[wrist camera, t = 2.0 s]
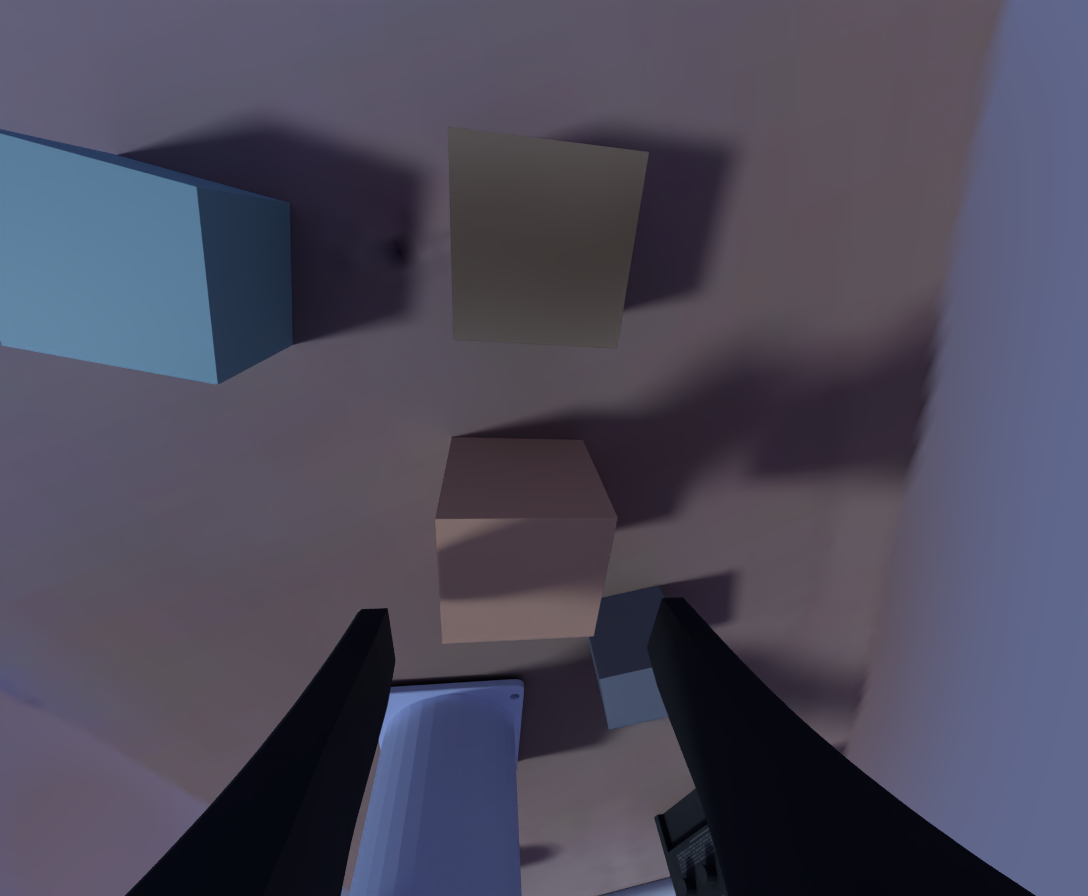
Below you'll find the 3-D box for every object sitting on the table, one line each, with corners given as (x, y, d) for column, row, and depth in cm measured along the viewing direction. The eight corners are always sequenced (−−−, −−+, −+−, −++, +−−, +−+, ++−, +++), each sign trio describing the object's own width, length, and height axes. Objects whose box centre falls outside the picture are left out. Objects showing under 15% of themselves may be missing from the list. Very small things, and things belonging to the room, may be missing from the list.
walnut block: (584, 319, 13) (616, 348, 10) (463, 311, 13) (453, 339, 9) (601, 177, 12) (649, 152, 8) (462, 161, 11) (447, 126, 8)
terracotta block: (568, 538, 18) (593, 636, 13) (455, 539, 17) (442, 643, 13) (582, 438, 16) (617, 517, 11) (452, 435, 15) (435, 519, 10)
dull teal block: (293, 344, 13) (217, 384, 9) (147, 313, 12) (2, 345, 8) (291, 203, 11) (196, 186, 8) (120, 155, 10) (-78, 112, 7)
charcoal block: (661, 634, 22) (693, 710, 18) (590, 650, 22) (609, 729, 18) (658, 584, 20) (693, 658, 16) (580, 601, 20) (599, 679, 16)
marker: (577, 903, 42) (581, 937, 40) (572, 897, 41) (576, 932, 39) (743, 859, 41) (756, 892, 39) (743, 852, 40) (756, 885, 38)
